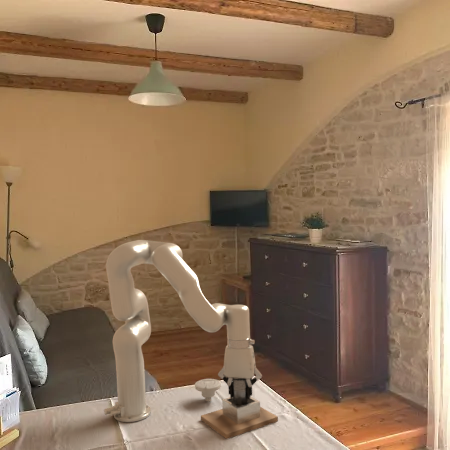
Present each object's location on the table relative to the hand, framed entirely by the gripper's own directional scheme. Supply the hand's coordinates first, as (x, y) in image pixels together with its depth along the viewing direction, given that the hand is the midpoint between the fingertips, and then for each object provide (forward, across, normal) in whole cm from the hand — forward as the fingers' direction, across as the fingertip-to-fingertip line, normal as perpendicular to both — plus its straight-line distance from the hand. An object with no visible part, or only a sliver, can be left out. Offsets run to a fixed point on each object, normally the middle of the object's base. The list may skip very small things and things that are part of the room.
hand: (240, 396), depth 161 cm
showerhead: (+8, +15, -13) cm, 22 cm away
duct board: (+8, +1, +1) cm, 8 cm away
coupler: (+2, 0, 0) cm, 2 cm away
